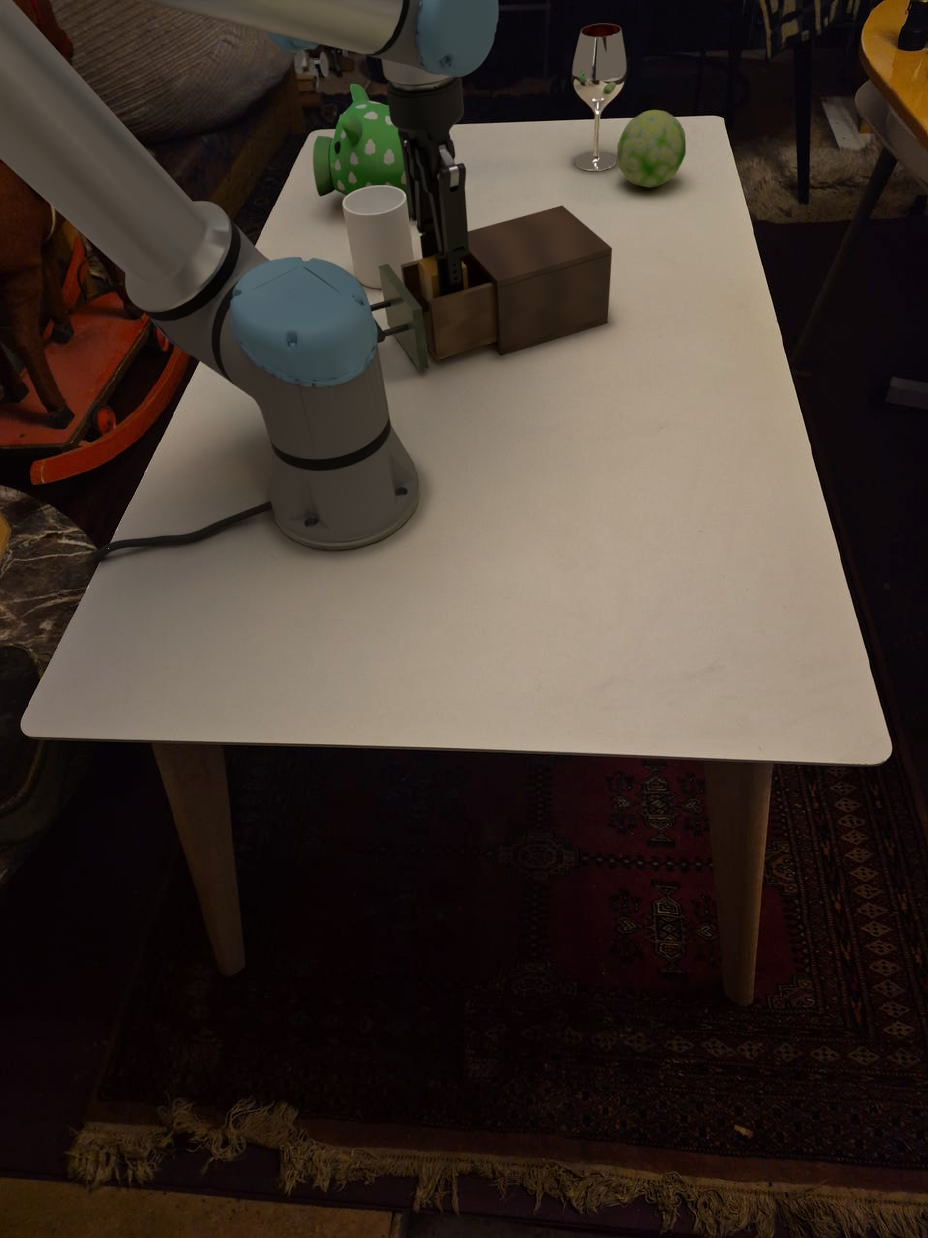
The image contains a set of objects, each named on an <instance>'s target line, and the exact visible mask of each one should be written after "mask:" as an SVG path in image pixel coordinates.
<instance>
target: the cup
mask: <svg viewBox="0 0 928 1238" xmlns="http://www.w3.org/2000/svg"><path fill="white" fill-rule="evenodd" d="M341 204H342V205H341V206H342V210H343V216H344V222H345V226H346V232H347V237H348V243H349V249H350V254H351V260H352V266H353V272H354V275H355V278H356V279H357V280H358V282H359V283H360V284H361V285H362V286H365V287H368V288H370V289H371V288H372V289H378V290H379V289H380V290H382V285H381V278H380V272H379V266H381V265H385V264H389V266H390V267H391V268H392V270H393V271H394V272H395V274H396V275H397V276H398V277H399V279H400V280H401V281H402V283H403V280H402V272H401V265H402V264H406V263H409V262H413V261H415V257H414V256H415V255H414V249H413V247H414V246H413V240H412V232H411V225H410V224H411V223H410V216H409V215H408V207H407V199H406V194H405V193H404V192H403V191H402V190H401V189H399V188H396V187H393V186H385V185H379V186H369V187H365V188H361V189H358V190H356V191H354V192H352V193H350V194H349V195H347V196H346V195H345V197H344V198H343V200H342V203H341Z"/></svg>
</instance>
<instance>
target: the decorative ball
mask: <svg viewBox="0 0 928 1238" xmlns="http://www.w3.org/2000/svg"><path fill="white" fill-rule="evenodd" d="M686 142H687V141H686V133H685V129H684V128H683V126H682V123H681V122H680V120H678V119H677V117H675V116H674V115H672V114H670V113H669V112H668V111H664V110H659V109H651V110H650V109H649V110H647V111H643V112H642V113H640V114H638V115H636V116H635V117H633V118H631V120H629V122H628V123H627V124H626V125H625V127H624V129H623V131H622V133H621V135H620V137H619V140H618V142H617V147H616V148H617V149H616V151H617V152H616V161H617V163H618V167H619V170H620V171H621V173H622V174H623V175H624V177H625V178H626V179H627V181H629V182H630V183H631V184H633V185H636V186H640V187H643V188H648V189H649V188H656V187H659V186H661V185H663V184H665V183H668V181H670V180H671V179H672V178H673V177H674V176H675V175H676V174H677V173H678V171H679V169H680V167H681V166H682V163H683V161H684V159H685V156H686V154H687V153H686V152H687V143H686Z"/></svg>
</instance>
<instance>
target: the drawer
mask: <svg viewBox="0 0 928 1238" xmlns="http://www.w3.org/2000/svg"><path fill="white" fill-rule="evenodd" d="M417 260H418V259H417ZM417 260H414V261H413V262H409V263H406V264H402V265H401V272H402V280H403V283H402V281H401V280H400V279H399V277H398V276H397V275H396V274H395V272H394V271H393V270H392V268H391V267H390V266H389V264H385V265H381V266H379V272H380V278H381V285H382V289H381V290H382V291H381V292H382V297H383V301H379V302H376V303H373V304H370V308H371V311H372V313H373V312H376V311H380V310H383V309H385V316H386V321H387V322H386V323H387V326H388V327H389V328H387V329H383V328H382V327H381V326H380V324H379V322H378V321H377V320H376V318H375V317H374V320H375V323H376V326H377V342H378V344H381V343H383V342H384V341H385V340H386V337H390V336H394V337H396V338H397V340H398V342H399V343H400V344H401V346H402V348H403V349H404V351H405V352H406V353H407V354H408V356H409V358H410V359H411V360H412V362H413V363H414V365H415V366H416V367H417V369H418V370H419V371H420V372H421V371H424V370H428V369H430V363H429V356H428V355H429V353H428V349H429V351H430V352H431V353H432V355H433V356H434V358H435V359H436V361H437V360H441V359H444V358H448V357H450V356H454V355H457V354H460V353H464V352H468V351H470V350H475V349H477V348H480V347H483V346H487V345H491V343H493V342H497V341H498V336H497V316H496V296H495V284H494V283H493V282H492V281H491V280H490V278H489V277H488V276H487V275H486V274H485V273H484V272H483V271H482V270H481V269H480V268H479V266H478V265H477V264H476V263H475V262H474V261H473V260H472V259H471V258H470V257H469V255H466V256H463V257H461V260H462V262H463V263H464V264H465V265H466V267H467V280H468V289H466V290H463V291H459V292H456V293H452V294H449V295H445V296H442V297H438V298H435V299H432V300H429V304H428V302H427V301H426V300H425V298H424V297H423V296H422V293H421V285H420V277H419V269H418V261H417Z"/></svg>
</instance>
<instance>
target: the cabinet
mask: <svg viewBox="0 0 928 1238" xmlns="http://www.w3.org/2000/svg"><path fill="white" fill-rule="evenodd" d="M468 241H469V257H470V258H471V259H472V260H473V261H474V262H475V263H476V264H477V265H478V266H479V268H480V269H481V270H482V271H483V272H484V273H485V274H486V275H487V276H488V277H489V278H490V280H491V281H492V282H493V283H494V284H495V296H496V316H497V336H498V341H497V342H493V343H490V345H491V346H492V347H493V348H494V349H495V350H496V352H497V353H498V354H499V355H500V356H505V355H508V354H512V353H514V352H517V351H520V350H521V351H522V350H524V349H527V348H531V347H533V346H537V345H540V344H544V343H547V342H550V341H553V340H557V339H560V338H563V337H566V336H569V335H572V334H576V333H579V332H582V331H585V330H589V329H593V328H595V327H599V326H601V325H605V324H607V323H608V322H609V309H610V293H611V292H610V289H611V277H612V276H611V275H612V274H611V273H612V259H613V247H612V246H610V245H609V244H608V243H607V242H606V241H604V239H602V238H601V237H600V236H599V235H598V234H596V232H594V231H593V230H592V229H590V228H589V227H588V226H587V225H586V224H585V223H584V222H582V220H581V219H579V218H578V217H577V216H576V215H574V214H573V213H572V212H571V211H569V209H567V208H566V207H565V206H564V205H559V206H555V207H551V208H548V209H543V210H540V211H536V212H534V213H533V212H532V213H529V214H526V215H523V216H518V217H515V218H511V219H508V220H504V221H500V222H497V223H493V224H490V225H489V224H488V225H486V226H483V227H479V228H476V229H472V230H468Z"/></svg>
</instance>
